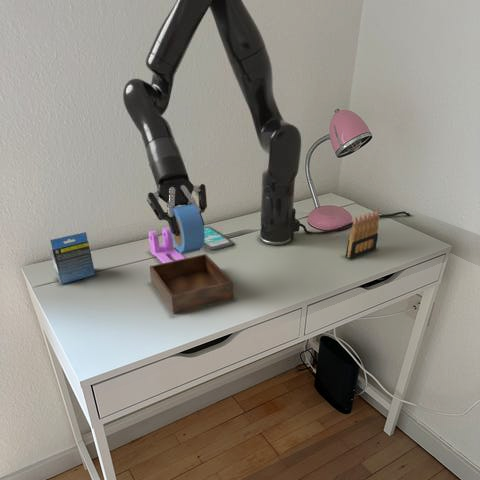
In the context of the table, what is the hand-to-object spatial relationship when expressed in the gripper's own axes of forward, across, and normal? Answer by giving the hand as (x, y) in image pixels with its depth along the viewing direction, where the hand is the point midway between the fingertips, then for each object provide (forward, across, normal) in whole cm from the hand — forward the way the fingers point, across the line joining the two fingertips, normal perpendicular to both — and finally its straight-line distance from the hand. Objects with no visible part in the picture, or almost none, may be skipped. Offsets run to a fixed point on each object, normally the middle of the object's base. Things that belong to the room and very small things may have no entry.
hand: (189, 232), depth 103 cm
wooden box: (+10, 0, +13) cm, 17 cm away
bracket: (-3, +1, +26) cm, 27 cm away
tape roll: (+2, 0, +5) cm, 5 cm away
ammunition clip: (+12, +51, +12) cm, 54 cm away
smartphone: (-7, +16, +31) cm, 35 cm away
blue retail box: (-4, -24, +27) cm, 36 cm away
